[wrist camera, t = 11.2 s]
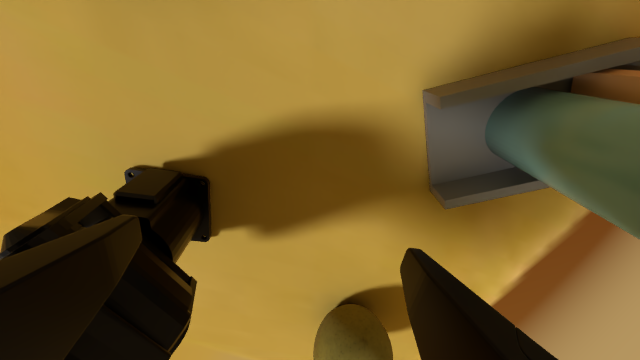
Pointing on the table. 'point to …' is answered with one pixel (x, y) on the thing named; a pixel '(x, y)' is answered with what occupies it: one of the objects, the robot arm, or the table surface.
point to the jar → (574, 148)
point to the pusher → (609, 85)
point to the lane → (475, 109)
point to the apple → (352, 336)
